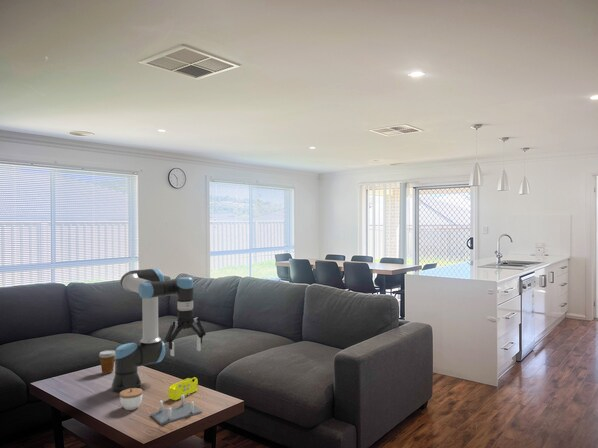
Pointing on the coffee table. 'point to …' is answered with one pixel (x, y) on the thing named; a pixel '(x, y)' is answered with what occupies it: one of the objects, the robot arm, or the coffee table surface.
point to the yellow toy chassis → (183, 388)
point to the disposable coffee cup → (107, 360)
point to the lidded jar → (131, 398)
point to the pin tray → (175, 412)
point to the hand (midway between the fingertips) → (185, 353)
